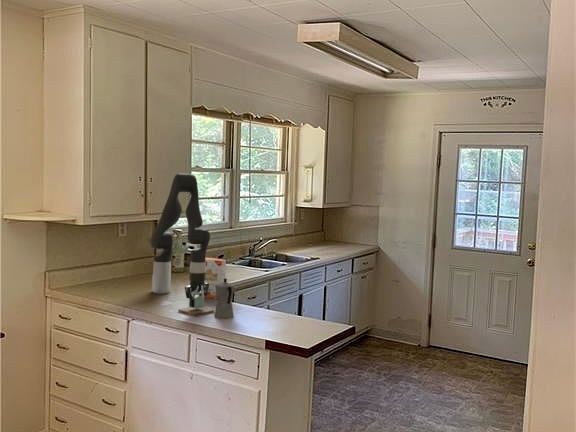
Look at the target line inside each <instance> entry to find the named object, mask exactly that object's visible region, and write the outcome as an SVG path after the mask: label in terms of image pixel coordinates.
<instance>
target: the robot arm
mask: <svg viewBox="0 0 576 432" xmlns="http://www.w3.org/2000/svg"><path fill="white" fill-rule="evenodd" d="M180 193H189V194H190V199H189V202H188V204H187V205H186V209H185V217H186V220H187V228H188V229H187V237H186V238H187V242H189V244H191V245H199V246H198V247H197V248H196V247H195V248H193V249H191V251H190V264H189V279H188V280H189V285H188V286H185V287H184V291H185V297H186V299H188V300H189V299H190V307H194V299H195V295H197V292H198V294H199V296H203V297H204V296H207V293H208V288H209V284H208V283H204V281H205V274H206V264H205V259H206V258H207V256H206V255H207V254H206V253H207V250H208V245H209V243H210V241H211V233H210V232H209V230H208V229H203V228H201V229H200V227H202V226H203V218H202V214H201V213H202V212H201V210H200V204H199V203H200V202H199V199H200V198H199V187H198V180H197V177H196V176H195V175H194V174H192V173H176V174H175V176H174V177H173V180H172V184H171V186H170V191H169V195H168V197H167V199H166V202H165V205H164V207H163V209H162V212H161V215H160V218H159V220H158V223H157V224H156V226H155V229H154V230H153V233H152V235H151V238H150V246H151V248H152V249H156V250H162V251H161V252H159V253H158V254H155V255H154V256H153V272H152V274H151V275H152V276H151V292H152V293H153V294H156V295H157V294H159V295H160V294H161V295H164V294H170V292H171V277H172V276H171V274H172V273H171V272H172V271H171V270H172V256H173V243H174V239H173V234H172V232H171V231H168V230H169V229H170V228H172V227H173V226H174V225H176V224H177V223H178V221H179V220H180V218H181V215H182V213H183V207H182V204H181V202H180V199H179V194H180ZM198 228H199V229H198ZM204 298H205V297H204Z"/></svg>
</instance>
